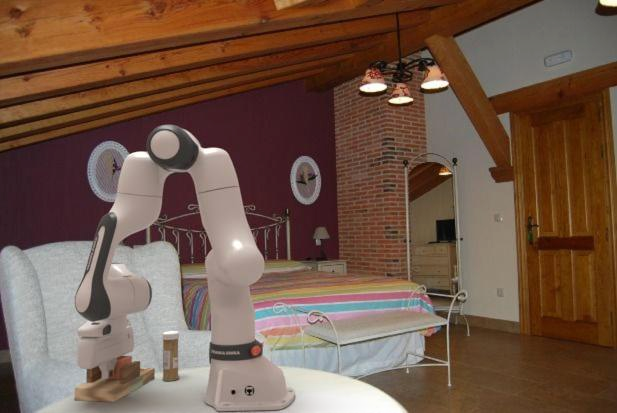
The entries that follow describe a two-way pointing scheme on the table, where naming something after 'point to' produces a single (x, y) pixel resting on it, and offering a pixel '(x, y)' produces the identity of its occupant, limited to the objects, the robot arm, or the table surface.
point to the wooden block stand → (113, 383)
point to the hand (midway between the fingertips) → (107, 377)
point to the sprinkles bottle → (170, 355)
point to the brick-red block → (121, 365)
